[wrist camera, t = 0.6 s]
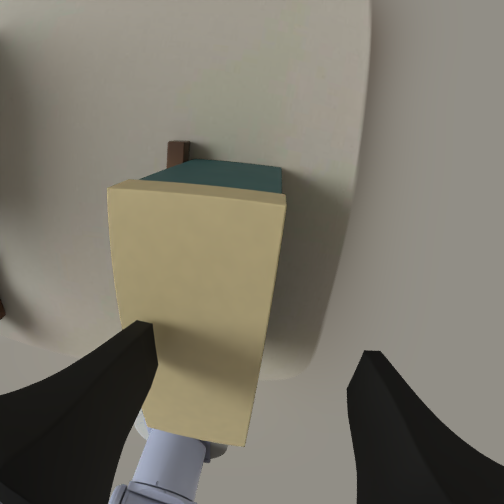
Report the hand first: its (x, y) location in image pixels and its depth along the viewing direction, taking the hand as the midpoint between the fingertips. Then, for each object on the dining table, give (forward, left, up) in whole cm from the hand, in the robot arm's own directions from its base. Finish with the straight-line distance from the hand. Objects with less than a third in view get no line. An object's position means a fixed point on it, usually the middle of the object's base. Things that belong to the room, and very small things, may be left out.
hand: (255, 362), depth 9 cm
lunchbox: (-1, +2, -9) cm, 10 cm away
